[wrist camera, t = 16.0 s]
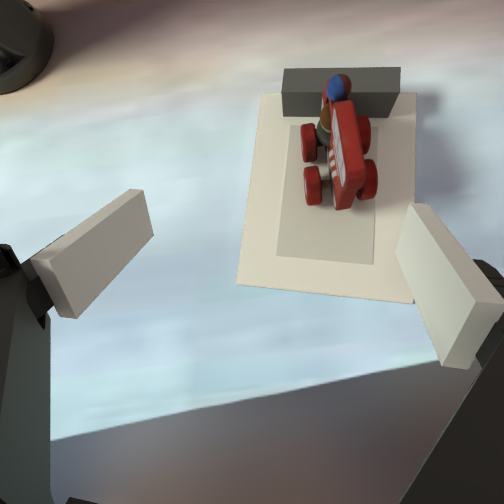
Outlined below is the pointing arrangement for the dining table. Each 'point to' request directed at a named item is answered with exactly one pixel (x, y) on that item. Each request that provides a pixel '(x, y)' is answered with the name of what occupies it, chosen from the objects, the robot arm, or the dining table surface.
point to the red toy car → (339, 149)
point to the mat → (327, 212)
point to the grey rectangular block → (362, 94)
